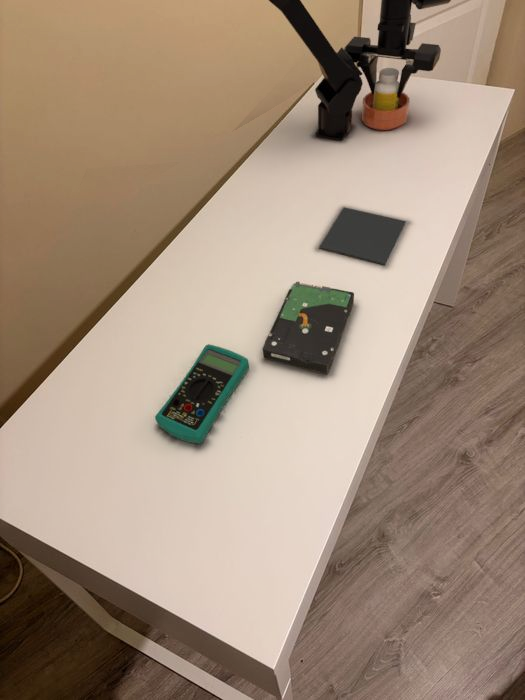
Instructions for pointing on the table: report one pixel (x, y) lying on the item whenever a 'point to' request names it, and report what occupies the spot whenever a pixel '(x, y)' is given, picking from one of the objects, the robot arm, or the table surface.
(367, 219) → the mat
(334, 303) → the disk drive
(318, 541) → the table surface
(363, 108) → the dish
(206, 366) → the digital multimeter
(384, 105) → the supplement bottle
